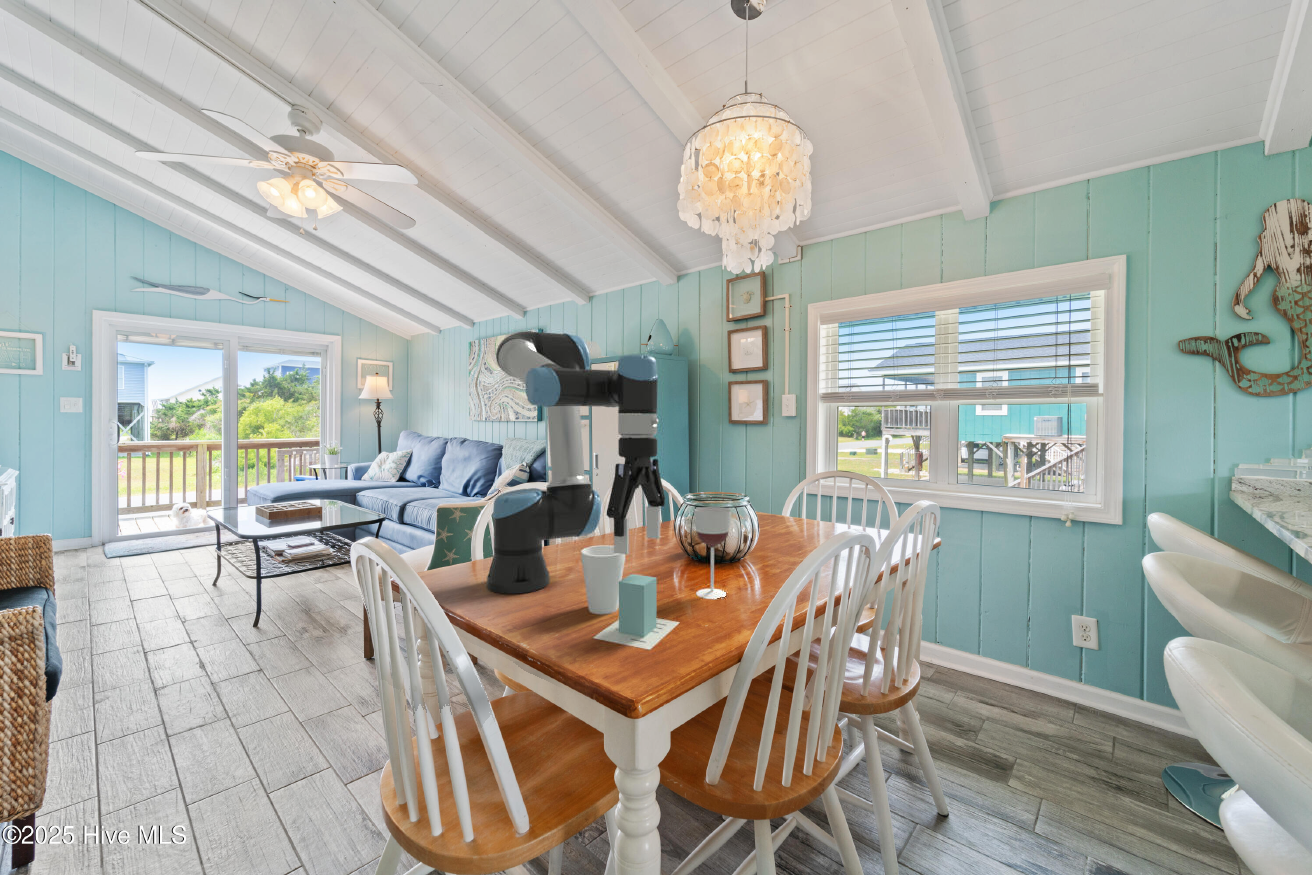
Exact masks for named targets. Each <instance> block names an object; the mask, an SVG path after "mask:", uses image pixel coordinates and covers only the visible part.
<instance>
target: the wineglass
mask: <svg viewBox="0 0 1312 875" xmlns="http://www.w3.org/2000/svg"><path fill="white" fill-rule="evenodd" d="M693 511H694V513H693V514H694V524H695V530H696V531H695V532H696V535H697V537H698V540H699V541H700V542H701V543H702V544H704V545H707V546H709V547H710V588H701V589H698V590H697V591H696V593H695V594H696V596H698V597H700V598H702V597H703V599H705V600H706V599H707V600H718V599H717V598H720V597H725V596H726V592H727V591H726V592H724V591H725V590H723V589H719V588H715V587H714V586H715V585H714V583H715V548H716V547H717V546H719V545H720V544H721V543H724V542H725V541H726V539H727V538H728V536H729V532H730V526H731V520H732V518H731V517H732V509H731V508H727V507H721V506H720V507H719V506H703V507H698V508H695V509H694V510H693ZM722 590H723V591H722ZM725 598H726V597H725Z"/></svg>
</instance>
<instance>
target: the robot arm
mask: <svg viewBox="0 0 1312 875" xmlns="http://www.w3.org/2000/svg"><path fill="white" fill-rule="evenodd" d="M495 359H496V362H497V366H498V367H499V368H500V369H501V371H502V372H504V374H506V375H508V376H510V377H512V378H517V379H518V380H519V381H521V382H522V383H523V384H524V385H525V387H524V388H525V396H526V398H527V401H528V404H531V405H532V406H537V407H538V406H539V407H545V408H546V409H547V410H546V412H547V413H546V414H547V425H548V426H547V427H548V440H549V441H548V442H549V443H548V444H549V456H550V472H551V481H550V482H549V483H548V484H547V485H546V493H543V491H542V490H541V489H540V488H536V487H535V488H533V487H532V488H521V489H516V490H515V489H514V490H510V491H506V492H503V493H501V494H500V495H498V496H496V497H495V499H494V501H493V511H492V518H493V557H492V560H491V563H490V567H489V570H488V574H487V576H486V589H488V590H489V591H491V592H494V593H499V594H507V595H508V594H511V595H512V594H515V595H516V594H524V593H531V592H535V591H539V590H542V589H543V588H545V587H547V586H548V585H549V584H550V572H549V570H548V568H547V563H546V561H545V557H544V554H543V541H546V540H555V539H557V540H558V539H565V538H574V537H575V538H580V537H581V536H586V535H587V536H589V535H591V534H593V533H594V532H595V531H596V529H597V528H598V525H599V523H600V520H601V515H602V501H601V497H600V494H599V492H598V491H597V490H595V489H593V488H592V482H590V481H589V480H588V479H587V477H586V476H585V474H586V473H585V462H584V447H583V435H582V433H583V432H582V423H581V422H582V421H581V420H582V419H581V410H580V409H581V407H605V408H618V410H617V412H618V413H617V414H618V418H617V419H618V421H617V424H618V425H617V427H618V430H617V431H618V435H620V437H619V439H617V440H618V442H617V443H618V451H617V452H618V455H619V457H621V458H624V463H616V464H615V468H614V478H613V483H612V487H611V491H610V492H611V493H610V495H609V496H610V497H609V501H608V504H607V510H606V517H608V518H610V519H613V546H614V553H619V554H625V555H629V554H630V528H629V527H630V519H629V518H628V517H627V516H628V512H629V509H630V507H631V504H632V500H633V499H634V495H635V493H636V490H637V489H638V488H640V487H641V490H642V491H643V493H644V494H643V495H644V497H645V498H646V501H647V503H648V505H647V506H646V511H645V512H646V516H645V517H646V538H647V539H655V540H660V539H661V507H665V505H666V502H665V500H666V497H665V492H664V487H663V482H662V479H661V478H662V477H661V474H660V473H661V472H660V469H659V468H660V467H659V459H658V458H655V457H656V456H657V455H658V439H657V437H655V435H656V434H658V424H659V422H660V421H659V419H658V379H659V376H658V371H657V370H658V369H657V360H656V358H655V357H653V356H652V355H646V354H645V355H643V354H640V355H639V354H632V355H623V356H621V357H619V358H618V362H617V368H616V369H590V366H591V356H590V351H589V348H588V346H587V343H586V341H585V340H584V339H583V338H582V337H581V336H580V335H576V334H575V335H574V334H568V333H557V332H556V333H555V332H554V333H553V332H540V331H539V332H538V331H518V332H514V333H511V334H510V335H508V336H506V337H504V338H503V339H502V340H501V341H500V342H499V344H498V347H497V349H496V353H495Z"/></svg>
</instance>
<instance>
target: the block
mask: <svg viewBox="0 0 1312 875" xmlns="http://www.w3.org/2000/svg"><path fill="white" fill-rule="evenodd" d="M657 587H658V586H657V577H655V576H647V575H641V574H635V573H632V574H629V575H628V576H626V577H624V578H622V580H621V581H619V606H618V620H619V633H624V634H629V635H634V636H639V637H645V636H647V635H648V634H649V633H650V632H651V631H653V630H654V629H655V628H656V618H657Z"/></svg>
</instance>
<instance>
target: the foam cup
mask: <svg viewBox="0 0 1312 875" xmlns="http://www.w3.org/2000/svg"><path fill="white" fill-rule="evenodd" d="M625 562H626V554H619V553H614V545H593V546H592V545H591V546H588V547H584V548H583V549H581V551H580V563H581V564H582V571H583V577H584V585H585V592H586V593H585V595H586V600H587V607H588V612H590V613H592V614H596V615H608V614H613V613H616V612H617V611H618V610H619V581H621V580H623V574H624V573H623V572H624V565H625Z"/></svg>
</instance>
